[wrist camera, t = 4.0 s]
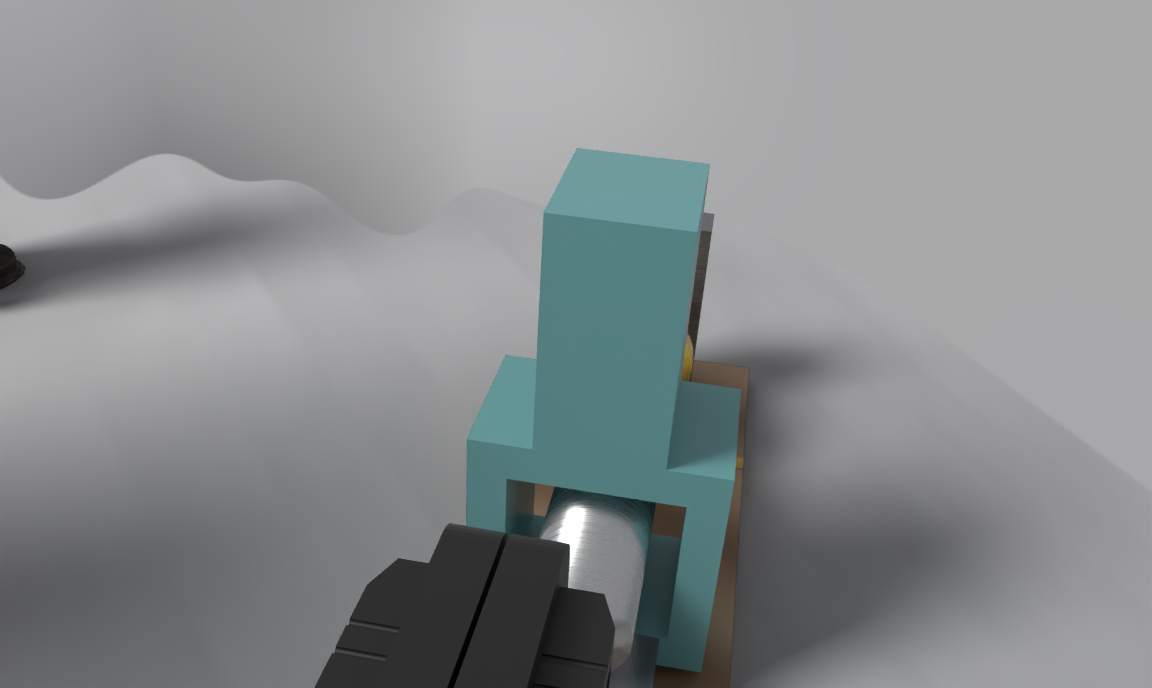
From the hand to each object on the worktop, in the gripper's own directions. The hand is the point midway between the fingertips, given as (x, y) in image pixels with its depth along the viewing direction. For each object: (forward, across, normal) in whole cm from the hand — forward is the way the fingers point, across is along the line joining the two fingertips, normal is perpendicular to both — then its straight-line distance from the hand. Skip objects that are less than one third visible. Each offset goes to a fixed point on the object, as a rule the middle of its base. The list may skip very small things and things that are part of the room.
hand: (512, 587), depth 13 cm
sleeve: (+12, 0, -13) cm, 18 cm away
